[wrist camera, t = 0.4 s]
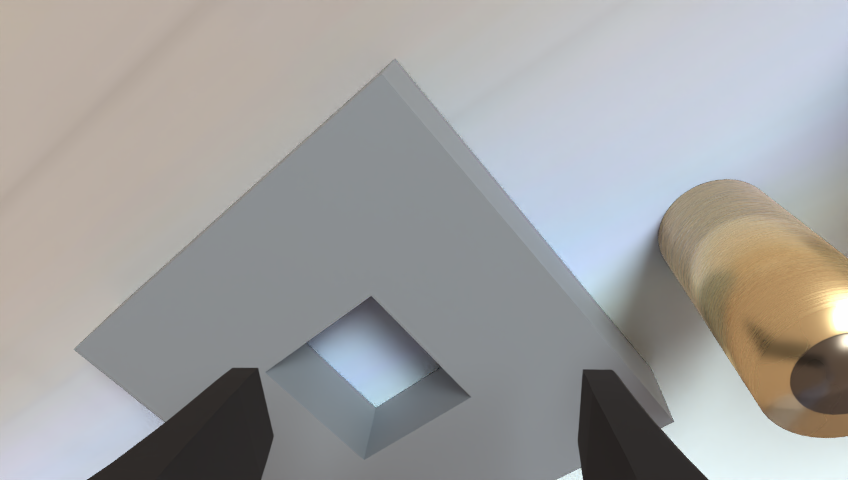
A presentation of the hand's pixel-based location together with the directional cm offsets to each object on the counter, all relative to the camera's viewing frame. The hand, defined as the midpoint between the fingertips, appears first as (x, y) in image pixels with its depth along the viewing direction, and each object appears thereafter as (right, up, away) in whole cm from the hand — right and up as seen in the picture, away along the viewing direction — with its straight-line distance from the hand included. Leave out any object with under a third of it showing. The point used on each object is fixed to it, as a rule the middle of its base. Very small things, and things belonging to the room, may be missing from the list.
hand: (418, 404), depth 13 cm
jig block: (-2, 0, +11) cm, 11 cm away
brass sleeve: (+11, +4, +8) cm, 14 cm away
